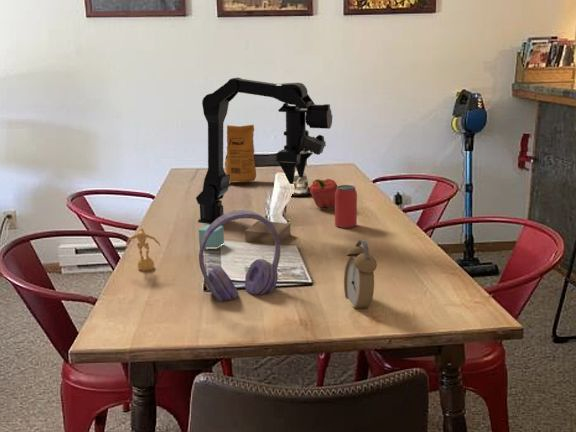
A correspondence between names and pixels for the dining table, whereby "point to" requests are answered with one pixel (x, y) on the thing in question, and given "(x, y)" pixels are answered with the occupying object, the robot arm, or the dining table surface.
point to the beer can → (345, 206)
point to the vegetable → (324, 192)
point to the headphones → (259, 272)
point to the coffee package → (240, 153)
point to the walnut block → (267, 232)
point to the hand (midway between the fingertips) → (296, 180)
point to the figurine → (144, 262)
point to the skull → (301, 185)
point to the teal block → (212, 236)
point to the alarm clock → (359, 275)
